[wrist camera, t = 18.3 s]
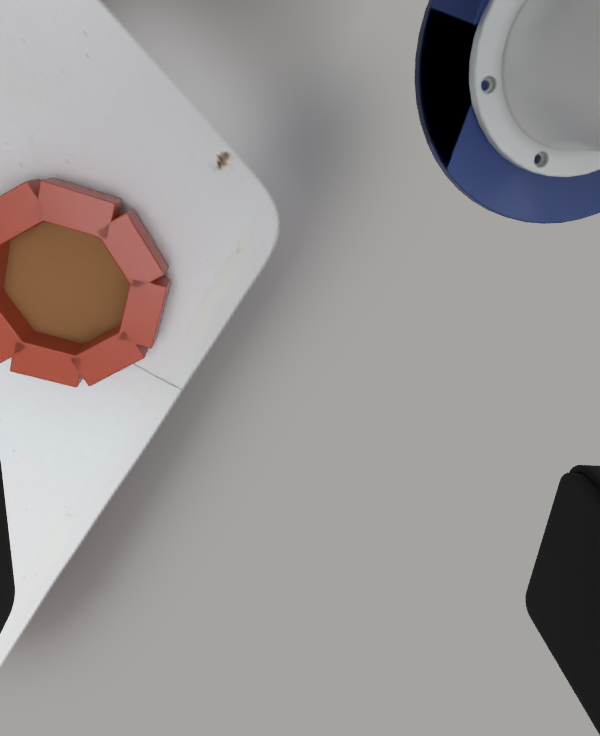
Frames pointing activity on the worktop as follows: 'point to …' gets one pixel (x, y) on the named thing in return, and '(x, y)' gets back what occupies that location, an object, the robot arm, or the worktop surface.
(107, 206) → the terracotta ring
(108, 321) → the cork mat
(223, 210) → the worktop surface
